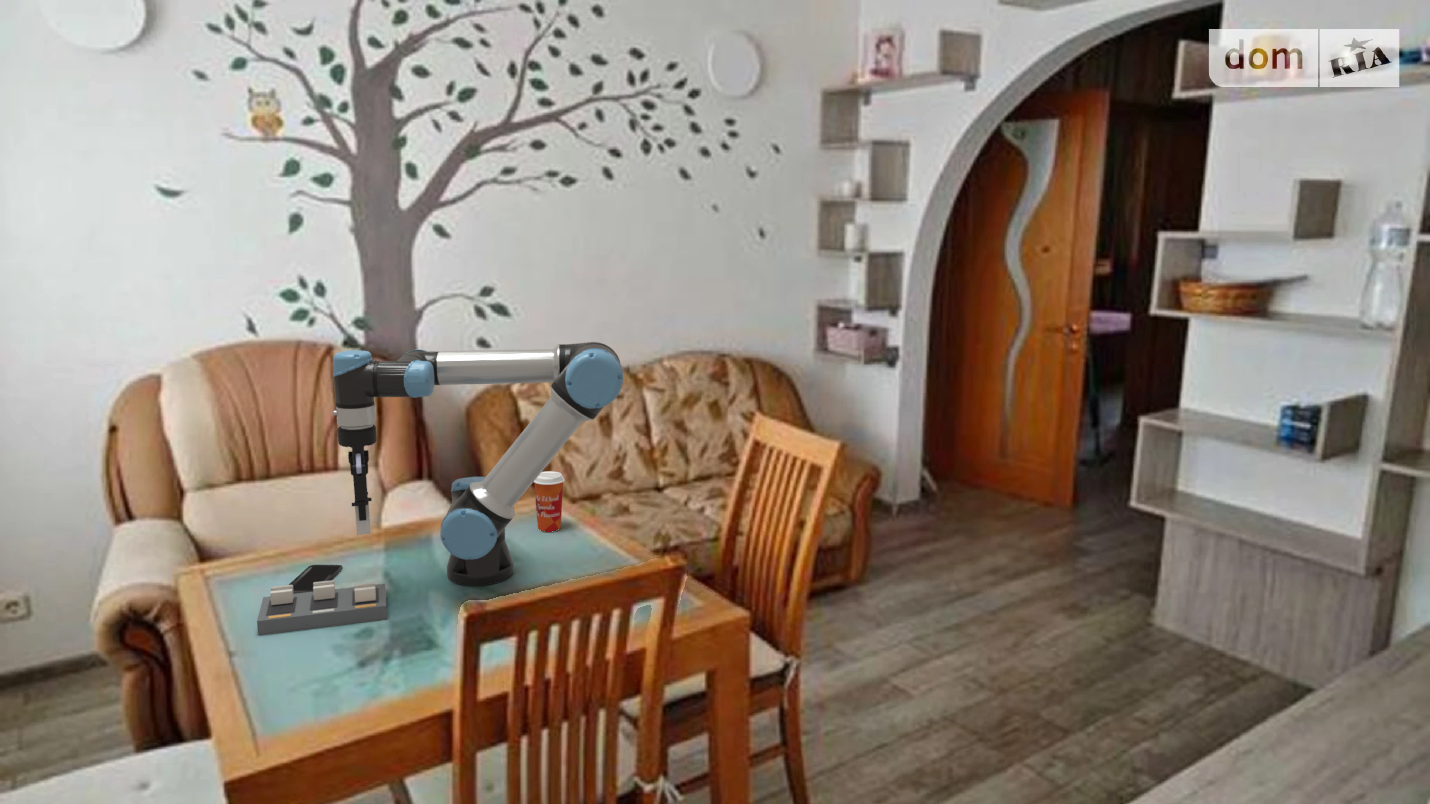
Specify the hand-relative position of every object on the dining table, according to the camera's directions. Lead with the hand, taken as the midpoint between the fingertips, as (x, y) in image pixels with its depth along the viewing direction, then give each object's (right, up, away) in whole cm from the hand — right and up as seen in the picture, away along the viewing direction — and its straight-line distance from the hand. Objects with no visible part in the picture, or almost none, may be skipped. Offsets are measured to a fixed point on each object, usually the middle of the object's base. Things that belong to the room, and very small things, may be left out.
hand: (363, 533), depth 193 cm
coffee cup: (+30, -6, +50) cm, 59 cm away
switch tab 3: (+2, -13, -4) cm, 14 cm away
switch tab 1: (-15, -13, -6) cm, 20 cm away
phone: (-16, -13, +13) cm, 25 cm away
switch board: (-6, -16, -4) cm, 18 cm away
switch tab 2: (-7, -13, -3) cm, 15 cm away
